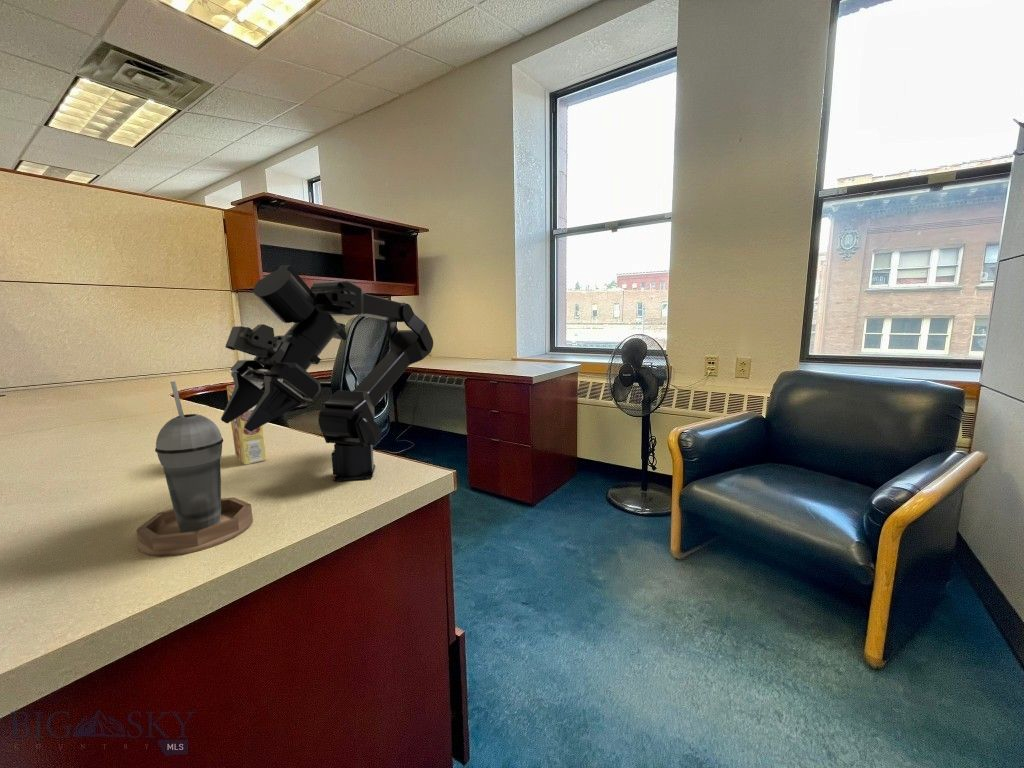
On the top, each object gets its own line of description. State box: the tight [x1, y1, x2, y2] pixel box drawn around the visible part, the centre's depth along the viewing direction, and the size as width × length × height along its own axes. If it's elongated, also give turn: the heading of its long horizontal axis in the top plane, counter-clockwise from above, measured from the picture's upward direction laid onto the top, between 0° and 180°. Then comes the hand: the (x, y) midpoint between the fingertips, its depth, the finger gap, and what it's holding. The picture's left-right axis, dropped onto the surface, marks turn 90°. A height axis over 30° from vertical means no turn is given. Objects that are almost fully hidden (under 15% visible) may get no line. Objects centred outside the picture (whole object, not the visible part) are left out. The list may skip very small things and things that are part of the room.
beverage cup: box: [154, 380, 224, 533], centre depth 57 cm, size 7×7×20 cm
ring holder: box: [136, 497, 254, 557], centre depth 59 cm, size 13×13×2 cm
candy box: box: [226, 384, 267, 465], centre depth 90 cm, size 9×4×15 cm, turn 44°
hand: (234, 425), depth 62 cm, fingers open, 9 cm apart
